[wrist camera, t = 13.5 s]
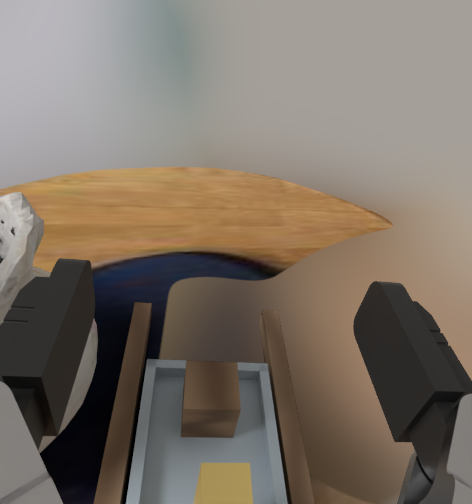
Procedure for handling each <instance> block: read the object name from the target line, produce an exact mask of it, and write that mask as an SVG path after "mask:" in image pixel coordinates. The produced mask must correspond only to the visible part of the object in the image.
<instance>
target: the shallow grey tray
mask: <svg viewBox="0 0 472 504" xmlns="http://www.w3.org/2000/svg"><path fill="white" fill-rule="evenodd" d="M237 365H238V379H239V392H240V406H241V411H240V415H239V418H238V422H237V425H236V429H235V433H234V436H233V438H199V437H181V421H182V403H183V387H184V378H185V368H186V360H162V359H147V364H146V371H145V377H144V384H143V391H142V398H141V405H140V411H139V418H138V425H137V432H136V438H135V445H134V452H133V459H132V466H131V472H130V479H129V486H128V493H127V500H126V504H288V503H287V496H286V489H285V482H284V475H283V468H282V461H281V454H280V447H279V440H278V434H277V427H276V420H275V413H274V406H273V399H272V392H271V385H270V378H269V371H268V364H267V363H241V362H237Z"/></svg>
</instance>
